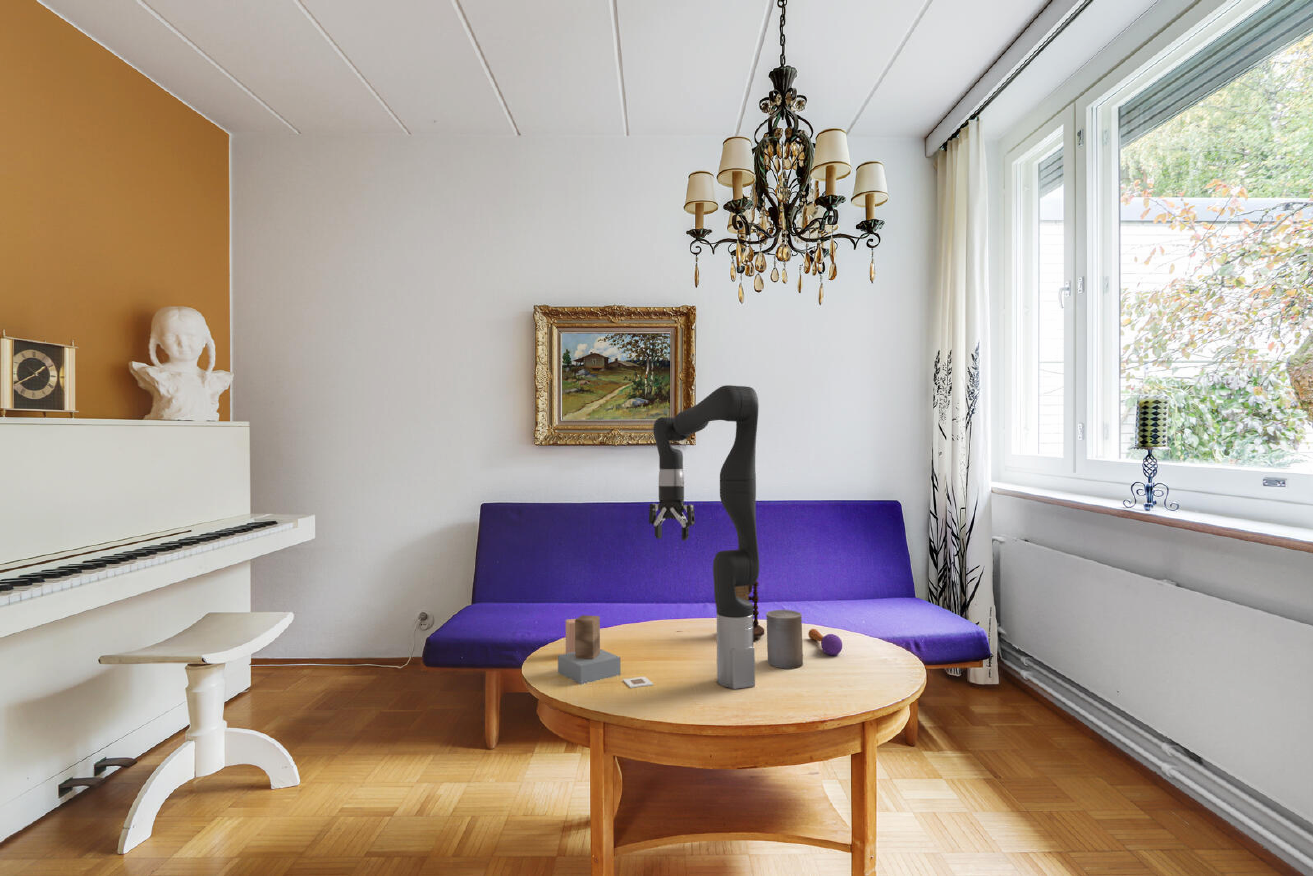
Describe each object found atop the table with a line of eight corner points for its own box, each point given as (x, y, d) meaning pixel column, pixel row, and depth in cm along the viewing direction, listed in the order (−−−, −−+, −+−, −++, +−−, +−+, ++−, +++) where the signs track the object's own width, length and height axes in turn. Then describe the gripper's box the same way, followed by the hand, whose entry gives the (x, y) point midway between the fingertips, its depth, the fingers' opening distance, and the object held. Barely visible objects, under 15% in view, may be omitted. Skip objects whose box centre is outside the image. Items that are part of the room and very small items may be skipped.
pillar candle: (801, 658, 183) (799, 605, 184) (804, 669, 173) (803, 612, 174) (766, 658, 184) (765, 605, 185) (768, 668, 175) (766, 612, 175)
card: (653, 685, 162) (653, 683, 162) (630, 688, 160) (630, 686, 160) (645, 677, 168) (645, 676, 168) (623, 680, 165) (623, 679, 165)
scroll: (713, 641, 202) (712, 576, 203) (723, 629, 216) (722, 569, 217) (760, 645, 197) (759, 579, 198) (767, 633, 211) (766, 571, 212)
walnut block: (599, 653, 173) (599, 616, 174) (592, 659, 169) (592, 620, 169) (582, 652, 175) (582, 615, 175) (575, 657, 170) (575, 619, 170)
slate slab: (620, 676, 170) (620, 657, 170) (581, 686, 163) (581, 666, 163) (596, 665, 180) (596, 647, 180) (558, 674, 172) (557, 655, 172)
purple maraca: (823, 626, 205) (846, 638, 185) (821, 645, 204) (843, 659, 184) (805, 623, 204) (826, 634, 185) (802, 642, 204) (823, 655, 184)
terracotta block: (586, 657, 186) (586, 622, 187) (569, 659, 184) (569, 623, 185) (582, 652, 191) (582, 618, 191) (565, 654, 189) (565, 619, 189)
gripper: (644, 484, 192) (644, 539, 191) (687, 485, 185) (687, 542, 184) (656, 484, 198) (656, 537, 198) (698, 484, 192) (698, 539, 191)
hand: (671, 539), depth 191 cm, fingers open, 8 cm apart
